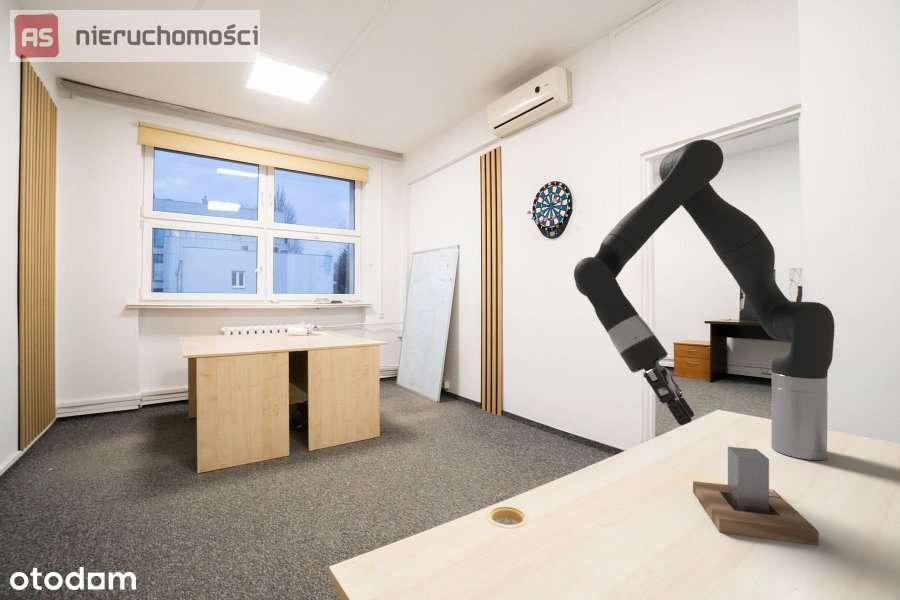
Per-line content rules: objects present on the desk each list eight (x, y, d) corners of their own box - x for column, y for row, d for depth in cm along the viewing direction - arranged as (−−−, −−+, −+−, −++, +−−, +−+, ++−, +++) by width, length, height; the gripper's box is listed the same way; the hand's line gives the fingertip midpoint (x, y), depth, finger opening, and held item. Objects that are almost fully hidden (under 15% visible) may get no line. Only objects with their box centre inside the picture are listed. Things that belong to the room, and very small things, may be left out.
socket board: (693, 492, 70) (693, 480, 70) (773, 501, 66) (773, 489, 66) (719, 531, 58) (719, 517, 58) (818, 545, 55) (818, 530, 55)
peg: (727, 507, 65) (727, 446, 65) (756, 510, 64) (756, 449, 64) (738, 520, 61) (738, 456, 61) (768, 524, 60) (769, 459, 60)
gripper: (648, 331, 71) (707, 416, 65) (658, 335, 83) (709, 407, 76) (611, 352, 74) (664, 434, 68) (626, 353, 86) (672, 424, 80)
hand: (688, 420), depth 72 cm, fingers open, 8 cm apart
